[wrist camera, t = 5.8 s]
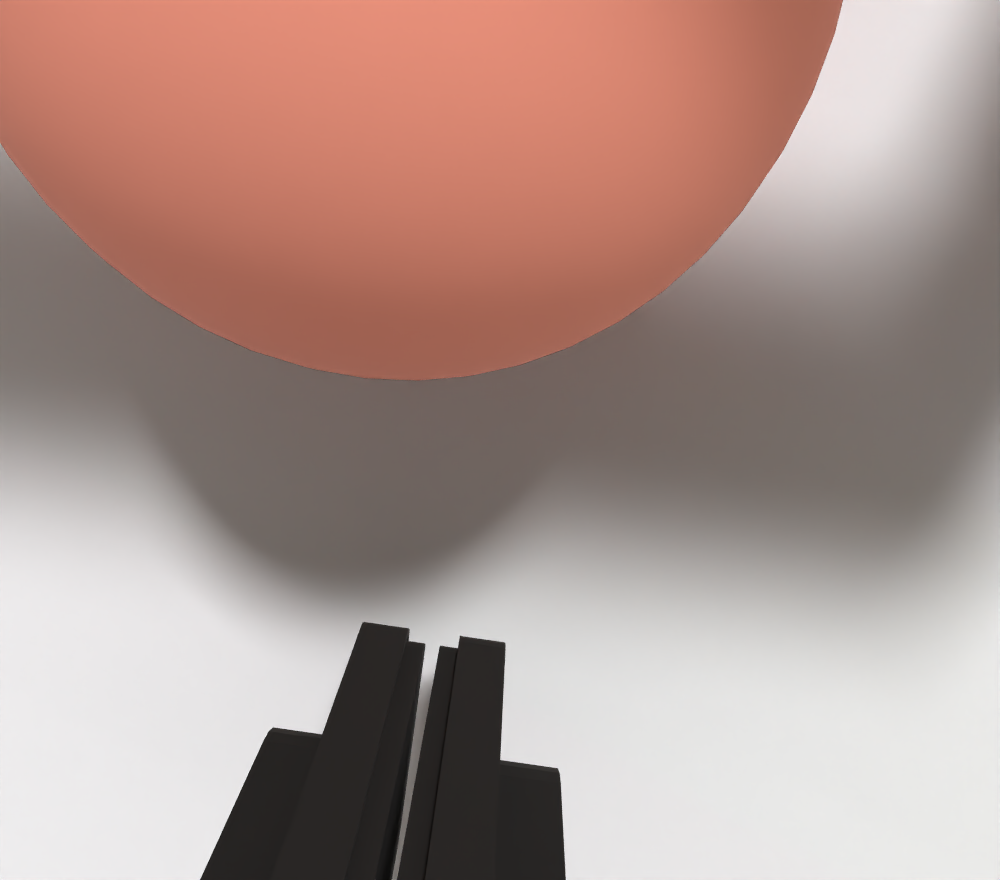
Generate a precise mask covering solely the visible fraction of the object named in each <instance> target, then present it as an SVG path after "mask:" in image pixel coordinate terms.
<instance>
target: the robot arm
mask: <svg viewBox="0 0 1000 880" xmlns="http://www.w3.org/2000/svg"><path fill="white" fill-rule="evenodd" d="M424 652H425V644H424V643H417V642H410V641H409V628H402V627H395V626H388V625H381V624H374V623H367V622H363V623H362V626H361V628H360V631H359V634H358V636H357V639H356V642H355V645H354V648H353V650H352V653H351V656H350V659H349V661H348V664H347V667H346V670H345V673H344V675H343V678H342V681H341V684H340V687H339V689H338V692H337V695H336V698H335V700H334V703H333V706H332V709H331V712H330V714H329V717H328V720H327V723H326V726H325V728H324V731H323V734H315V733H308V732H301V731H294V730H287V729H280V728H272V729H271V730H270V731H269V732H268V734H267V736H266V737H265V739H264V741H263V743H262V745H261V748H260V750H259V752H258V754H257V756H256V759H255V761H254V763H253V765H252V767H251V770H250V772H249V774H248V776H247V778H246V781H245V783H244V785H243V787H242V789H241V791H240V794H239V796H238V798H237V800H236V802H235V805H234V807H233V809H232V811H231V813H230V816H229V818H228V820H227V822H226V824H225V827H224V829H223V831H222V833H221V835H220V837H219V840H218V842H217V844H216V846H215V848H214V851H213V853H212V855H211V857H210V859H209V862H208V864H207V866H206V868H205V870H204V873H203V875H202V877H201V879H200V880H391V879H392V874H393V869H394V864H395V858H396V853H397V847H398V841H399V834H400V828H401V821H402V813H403V806H404V799H405V791H406V784H407V777H408V769H409V762H410V755H411V748H412V740H413V733H414V726H415V718H416V711H417V704H418V696H419V689H420V682H421V674H422V667H423V660H424ZM504 666H505V643H504V642H498V641H491V640H484V639H477V638H470V637H463V636H460V639H459V645H458V648H452V647H445V646H440V648H439V653H438V659H437V664H436V670H435V675H434V681H433V686H432V692H431V697H430V703H429V708H428V714H427V719H426V725H425V730H424V736H423V741H422V747H421V752H420V758H419V763H418V769H417V774H416V780H415V785H414V791H413V796H412V802H411V807H410V813H409V818H408V824H407V829H406V835H405V840H404V845H403V851H402V856H401V862H400V867H399V873H398V878H397V880H566V877H565V858H564V838H563V819H562V800H561V782H560V773H559V771H558V768H551V767H544V766H537V765H530V764H524V763H517V762H510V761H503V760H500V751H501V730H502V709H503V688H504Z"/></svg>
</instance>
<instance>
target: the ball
mask: <svg viewBox="0 0 1000 880" xmlns="http://www.w3.org/2000/svg"><path fill="white" fill-rule="evenodd" d="M842 2H843V0H0V143H1V145H2V146H3V148H4V150H5V151H6V153H7V154H8V156H9V157H10V158H11V160H12V161H13V162H14V163H15V165H16V166H17V167H18V168H19V170H20V171H21V172H22V174H23V175H24V176H25V177H26V179H27V180H28V181H29V182H30V184H31V185H32V186H33V188H34V189H35V190H36V191H37V193H38V194H39V195H40V196H41V198H42V199H43V200H44V201H45V203H46V204H47V205H48V206H49V207H50V208H51V209H52V210H53V211H54V212H55V213H56V214H57V215H58V216H59V217H60V218H61V219H62V220H63V221H64V222H65V223H66V224H67V225H68V226H69V227H70V228H71V229H72V230H73V231H74V232H75V233H76V234H77V235H78V236H79V237H80V238H81V239H82V240H83V241H84V242H85V243H86V244H87V245H88V246H89V247H90V248H91V249H92V250H93V251H94V252H95V253H97V254H98V255H99V256H100V257H101V258H102V259H104V260H105V261H106V262H107V263H108V264H110V265H111V266H112V267H113V268H115V269H116V270H117V271H118V272H120V273H121V274H122V275H124V276H125V277H126V278H127V279H129V280H130V281H131V282H132V283H134V284H135V285H136V286H137V287H139V288H140V289H141V290H142V291H144V292H145V293H146V294H148V295H149V296H150V297H151V298H153V299H155V300H156V301H158V302H160V303H161V304H163V305H164V306H166V307H168V308H169V309H171V310H173V311H174V312H176V313H177V314H179V315H181V316H182V317H184V318H186V319H187V320H189V321H191V322H192V323H194V324H195V325H197V326H199V327H201V328H203V329H205V330H207V331H209V332H212V333H214V334H216V335H218V336H220V337H223V338H225V339H227V340H229V341H231V342H234V343H236V344H238V345H240V346H242V347H245V348H247V349H249V350H251V351H255V352H258V353H261V354H264V355H268V356H271V357H274V358H277V359H281V360H284V361H287V362H290V363H293V364H297V365H300V366H303V367H307V368H311V369H315V370H321V371H327V372H333V373H338V374H344V375H350V376H355V377H361V378H370V379H393V380H416V381H419V380H430V379H442V378H453V377H465V376H472V375H477V374H481V373H486V372H491V371H495V370H500V369H504V368H509V367H513V366H518V365H522V364H524V363H527V362H530V361H533V360H536V359H538V358H541V357H544V356H547V355H549V354H552V353H555V352H558V351H560V350H563V349H566V348H569V347H571V346H573V345H575V344H577V343H579V342H581V341H583V340H585V339H587V338H589V337H591V336H593V335H594V334H596V333H598V332H600V331H602V330H604V329H606V328H608V327H610V326H612V325H614V324H616V323H618V322H619V321H621V320H622V319H624V318H625V317H627V316H628V315H629V314H631V313H632V312H634V311H635V310H637V309H638V308H640V307H641V306H643V305H644V304H645V303H647V302H648V301H650V300H651V299H653V298H654V297H656V296H657V295H658V294H660V293H661V292H663V291H664V290H665V289H666V288H667V287H668V286H670V285H671V284H672V283H673V282H674V281H675V280H676V279H677V278H679V277H680V276H681V275H682V274H683V273H684V272H685V271H686V270H687V269H689V268H690V267H691V266H692V265H693V264H694V263H695V262H696V261H698V260H699V259H700V258H701V257H702V256H703V255H704V254H705V253H706V252H707V251H708V250H709V249H710V247H711V246H712V245H713V244H714V243H715V242H716V241H717V239H718V238H719V237H720V236H721V235H722V234H723V233H724V231H725V230H726V229H727V228H728V227H729V226H730V225H731V223H732V222H733V221H734V220H735V219H736V218H737V217H738V215H739V214H740V213H741V212H742V211H743V209H744V208H745V206H746V205H747V203H748V202H749V200H750V199H751V197H752V196H753V195H754V193H755V192H756V190H757V189H758V187H759V186H760V184H761V183H762V181H763V180H764V178H765V177H766V175H767V174H768V172H769V171H770V169H771V168H772V166H773V165H774V164H775V162H776V161H777V159H778V158H779V156H780V154H781V153H782V151H783V150H784V148H785V146H786V144H787V142H788V140H789V138H790V136H791V134H792V132H793V130H794V128H795V126H796V125H797V123H798V121H799V119H800V117H801V115H802V113H803V111H804V109H805V107H806V105H807V103H808V101H809V99H810V97H811V95H812V93H813V90H814V88H815V85H816V82H817V80H818V77H819V74H820V72H821V69H822V66H823V64H824V61H825V58H826V56H827V53H828V50H829V48H830V45H831V42H832V39H833V37H834V34H835V30H836V26H837V22H838V18H839V14H840V10H841V6H842Z"/></svg>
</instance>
